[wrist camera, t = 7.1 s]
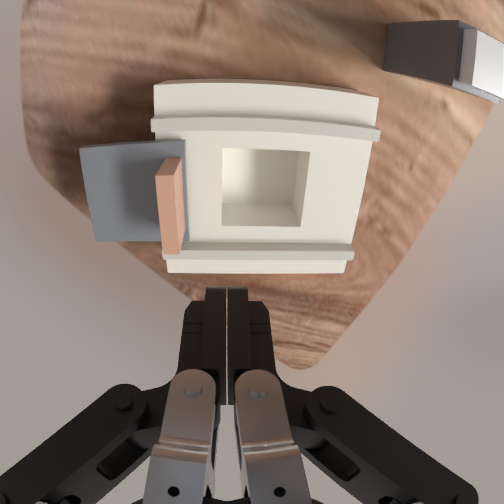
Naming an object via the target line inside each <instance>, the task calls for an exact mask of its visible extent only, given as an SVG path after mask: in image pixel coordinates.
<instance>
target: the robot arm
mask: <svg viewBox="0 0 504 504" xmlns="http://www.w3.org/2000/svg"><path fill="white" fill-rule="evenodd" d="M227 331H228V332H227V333H228V335H227V337H228V338H227V340H228V343H227V344H228V346H227V349H228V350H227V351H228V405H234V427H235V435H236V444H237V453H238V461H239V468H240V480H241V489H242V497H243V498H241V499H237V500H233V501H222V500H218V499H214V490H215V465H216V453H217V441H218V430H219V423H220V405H226V287H206V295H205V301H191V303H190V304H189V306H188V307H187V308H186V310H185V314H184V321H183V328H182V336H181V344H180V352H179V362H178V369H177V372H176V374H175V376H174V378H173V379H172V380H171V381H170V382H168V383H167V384H165V385H163V386H161V387H158V388H154V389H150V390H145V391H141V390H140V389H139V388H137V387H136V386H134V385H130V384H119V385H116V386H114V387H112V388H110V389H109V390H108V391H107V392H106V393H104V394H103V395H102V396H100V397H99V398H98V399H97V400H95V401H94V402H93V403H92V404H91V405H89V406H88V407H87V408H86V409H84V410H83V411H82V412H81V413H79V414H78V415H77V416H76V417H74V418H73V419H72V420H71V421H70V422H68V423H67V424H66V425H64V426H63V427H62V428H61V429H59V430H58V431H57V432H56V433H55V434H53V435H52V436H51V437H49V438H48V439H47V440H46V441H44V442H43V443H42V444H41V445H39V446H38V447H37V448H36V449H34V450H33V451H32V452H30V453H29V454H28V455H27V456H25V457H24V458H23V459H21V460H20V461H19V462H18V463H16V464H15V465H14V466H13V467H11V468H10V469H9V470H7V471H6V472H5V473H4V474H2V475H1V476H0V504H96V503H97V502H98V501H99V500H100V499H102V498H103V497H104V496H105V495H106V494H107V493H109V492H110V491H111V490H112V489H113V488H114V487H116V486H117V485H118V484H119V483H120V482H121V481H122V480H123V479H125V478H126V477H127V476H128V475H129V474H130V473H131V472H133V471H134V470H135V469H136V468H137V467H138V466H139V465H140V464H141V463H142V462H143V461H145V460H146V459H147V458H148V457H149V456H150V455H151V457H150V462H149V468H148V473H147V480H146V486H145V492H144V497H143V499H140V500H138V501H136V502H134V503H132V504H323V503H321V502H319V501H317V500H314V499H311V497H310V492H309V488H308V483H307V479H306V475H305V470H304V465H303V461H302V457H301V453H302V454H303V455H304V456H305V457H307V458H308V459H309V460H310V461H311V462H312V463H313V464H315V465H316V466H317V467H318V468H319V469H320V470H322V471H323V472H324V473H325V474H326V475H328V476H329V477H330V478H331V479H333V480H334V481H335V482H336V483H337V484H339V485H340V486H341V487H342V488H344V489H345V490H346V491H347V492H349V493H350V494H351V495H353V496H354V497H355V498H356V499H358V500H359V501H360V502H362V503H363V504H478V501H479V500H478V494H477V491H476V489H475V488H474V487H473V486H472V485H471V484H469V483H468V482H466V481H465V480H463V479H462V478H460V477H459V476H457V475H456V474H455V473H453V472H451V471H450V470H449V469H447V468H446V467H444V466H443V465H441V464H440V463H439V462H437V461H436V460H435V459H433V458H432V457H430V456H429V455H427V454H426V453H425V452H423V451H422V450H421V449H419V448H418V447H416V446H415V445H413V444H412V443H411V442H410V441H408V440H407V439H405V438H404V437H403V436H401V435H400V434H399V433H397V432H396V431H395V430H393V429H392V428H391V427H389V426H388V425H387V424H385V423H384V422H383V421H381V420H380V419H379V418H377V417H376V416H375V415H374V414H372V413H371V412H369V411H368V410H367V409H366V408H364V407H363V406H362V405H361V404H359V403H358V402H357V401H355V400H354V399H353V398H352V397H350V396H349V395H348V394H346V393H345V392H344V391H342V390H341V389H339V388H336V387H333V386H322V387H319V388H317V389H315V390H314V391H312V392H310V391H305V390H301V389H297V388H294V387H291V386H289V385H287V384H286V383H284V382H283V381H282V380H281V379H280V377H279V376H278V374H277V372H276V368H275V359H274V351H273V343H272V335H271V326H270V318H269V311H268V310H267V308H266V307H265V305H264V304H263V302H262V301H248V289H247V287H228V329H227ZM300 452H301V453H300Z"/></svg>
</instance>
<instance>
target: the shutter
mask: <svg viewBox="0 0 504 504" xmlns="http://www.w3.org/2000/svg"><path fill="white" fill-rule="evenodd" d="M79 153H80V160H81V167H82V173H83V179H84V185H85V191H86V196H87V202H88V207H89V212H90V217H91V221H92V226H93V231H94V235H95V239H96V241H162V248H163V254H180V250H181V246H182V241H189V239H190V229H189V212H188V191H187V165H186V139H180V140H153V141H135V142H121V143H108V144H97V145H87V146H82V147H81V148H79Z"/></svg>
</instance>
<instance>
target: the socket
mask: <svg viewBox="0 0 504 504" xmlns="http://www.w3.org/2000/svg"><path fill="white" fill-rule="evenodd" d="M378 101H379V98H378V97H375V96H372V95H370V94H367V93H364V92H361V91H358V90H353V89H346V88H340V87H333V86H325V85H317V84H308V83H298V82H286V81H272V80H253V79H181V80H166V81H163V82H161V83H158V84H155V85H154V117H153V118H152V119H151V132H155V139H156V140H180V139H186V165H187V191H188V212H189V229H190V239H189V241H182V246H181V250H180V254H163V248H162V255H163V259H166V261H167V269H168V273H344V270H345V266H346V262H347V260H353V257H354V253H355V251H354V249H353V247H352V245H351V242H352V238H353V234H354V229H355V225H356V221H357V216H358V212H359V207H360V203H361V198H362V193H363V188H364V183H365V178H366V173H367V168H368V163H369V157H370V152H371V146H372V141H375V142H379V138H380V132H381V130H380V129H378V128H376V127H375V122H376V115H377V108H378Z"/></svg>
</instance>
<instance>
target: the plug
mask: <svg viewBox="0 0 504 504" xmlns="http://www.w3.org/2000/svg"><path fill="white" fill-rule="evenodd" d="M383 71H388V72H392V73H396V74H400V75H404V76H408V77H412V78H415V79H419V80H423V81H426V82H430V83H434V84H438V85H441V86H445V87H448V88H452V89H455V90H458V91H461V92H465V93H468V94H471V95H474V96H477V97H480V98H483V99H485V100H488V101H491V102H494V103H496V104H499V102H500V98H501V99H504V43H502V42H500V41H499V40H497V39H495V38H493V37H492V36H490V35H488V34H486V33H484V32H482V31H480V30H478V29H476V28H474V27H472V26H470V25H468V24H466V23H464V22H462V21H460V20H436V21H416V22H403V23H392V24H388V28H387V40H386V51H385V61H384V70H383Z"/></svg>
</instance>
